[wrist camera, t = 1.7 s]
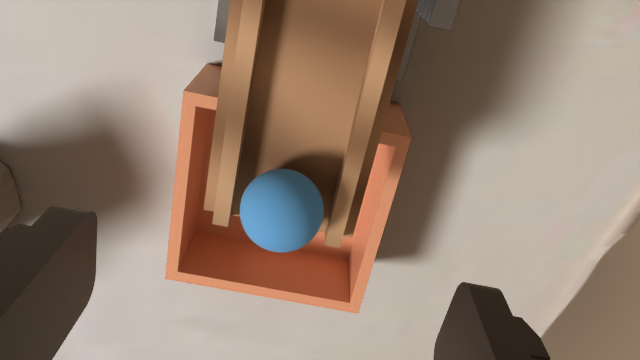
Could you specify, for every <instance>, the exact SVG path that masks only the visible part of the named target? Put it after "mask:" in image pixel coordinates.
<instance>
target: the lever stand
mask: <svg viewBox="0 0 640 360" xmlns="http://www.w3.org/2000/svg"><path fill="white" fill-rule="evenodd" d="M459 3H460V0H418V4H417V8H416V11H415V15H414V18H413V22H412V25H411V29H410V33H409V36H408V40H407V43H406V47H405V51H404V54H403V58H402V61H401V65H400V69H399V72H398V76H397V80H402V81H403V79H404V75H405V72H406V68H407V65H408V61H409V57H410V54H411V50H412V47H413V43H414V40H415V36H416V33H417V29H418V26H419V22H420V19H421V18H422V19H423V20H424V21H425V22H426V23H427V24H428V26H431V27H436V28H440V29H445V30H449V31H451V29H452V25H453V22H454V19H455V16H456V13H457V9H458V6H459ZM229 7H230V0H219V1H218V10H217V18H216V27H215V35H214V41H218V42H223V43H225V38H226V30H227V22H228V14H229Z"/></svg>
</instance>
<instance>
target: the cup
mask: <svg viewBox="0 0 640 360" xmlns="http://www.w3.org/2000/svg"><path fill="white" fill-rule="evenodd" d="M221 69H222V67H220V66H215V65H211V64H206V65H205V66H204V68H203V69H202V70H201V71H200V72H199V73H198V75H197V76H196V77H195V78H194V79H193V80H192V82H191V83H190V84H189V85H188V86H187V87H186V88H185V90H184V91H183V101H182V112H181V122H180V132H179V142H178V153H177V163H176V173H175V183H174V194H173V204H172V214H171V224H170V235H169V245H168V255H167V265H166V276H165V279H169V280H175V281H180V282H186V283H191V284H197V285H202V286H208V287H213V288H219V289H225V290H230V291H236V292H241V293H247V294H252V295H258V296H263V297H269V298H275V299H280V300H286V301H291V302H297V303H302V304H308V305H313V306H319V307H325V308H330V309H336V310H341V311H347V312H352V313H358V312H359V309H360V306H361V302H362V299H363V296H364V293H365V289H366V286H367V283H368V280H369V276H370V273H371V270H372V267H373V263H374V260H375V257H376V254H377V250H378V247H379V244H380V241H381V237H382V234H383V231H384V227H385V224H386V221H387V218H388V214H389V211H390V208H391V205H392V201H393V198H394V195H395V192H396V188H397V185H398V182H399V179H400V175H401V172H402V169H403V166H404V162H405V159H406V156H407V152H408V149H409V146H410V143H411V139H412V136H411V133H410V131H409V128H408V125H407V122H406V119H405V117H404V114H403V111H402V108H401V105H400V104H397V103H392V102H390V105H389V108H388V112H387V115H386V119H385V123H384V126H383V130H382V133H381V137H380V140H379V144H378V148H377V151H376V155H375V158H374V162H373V166H372V169H371V173H370V176H369V180H368V184H367V187H366V191H365V194H364V198H363V202H362V205H361V209H360V212H359V216H358V220H357V223H356V227H355V230H354V234H353V238H350V237H344V236H343V238H342V242H341V246H340V248H337V247H331V246H326V245H325V233H323V232H317V234H316V235H315V237H314V238H313V239H312V240H311V241H310V242H309V243H308V244H306V245H305V246H303V247H301V248H299V249H297V250H294V251H291V252H273V251H269V250H266V249H264V248H262V247H260V246H258V245H257V244H256V243H254V242H253V241H252V240H251V239H250V237H249V236H248V235H247V233H246V232H245V230H244V228H243V225H242V223H241V218H240V217H239V216H234V215H232V216H231V219H230V222H229V225H228V227H225V226H220V225H215V224H212V221H213V214H214V212H213V211H208V210H204V202H205V194H206V186H207V179H208V171H209V163H210V155H211V147H212V140H213V132H214V124H215V116H216V108H217V100H218V93H219V85H220V77H221Z"/></svg>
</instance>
